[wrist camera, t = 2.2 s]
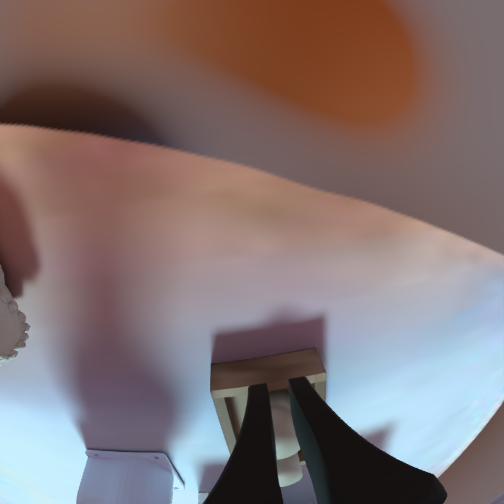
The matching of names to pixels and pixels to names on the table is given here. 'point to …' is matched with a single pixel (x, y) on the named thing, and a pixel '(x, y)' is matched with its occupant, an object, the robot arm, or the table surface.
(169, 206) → the table surface
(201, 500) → the white shelf
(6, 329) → the grey rounded lump
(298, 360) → the walnut tray
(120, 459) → the robot arm
